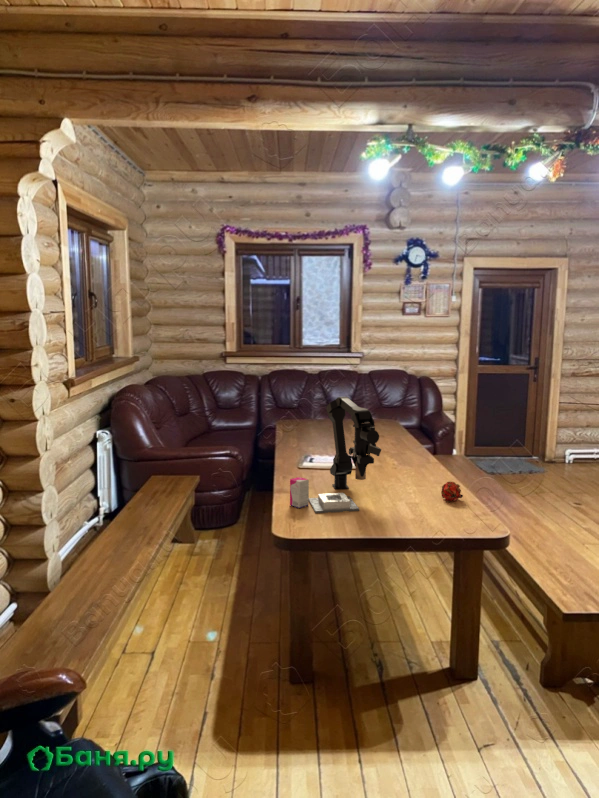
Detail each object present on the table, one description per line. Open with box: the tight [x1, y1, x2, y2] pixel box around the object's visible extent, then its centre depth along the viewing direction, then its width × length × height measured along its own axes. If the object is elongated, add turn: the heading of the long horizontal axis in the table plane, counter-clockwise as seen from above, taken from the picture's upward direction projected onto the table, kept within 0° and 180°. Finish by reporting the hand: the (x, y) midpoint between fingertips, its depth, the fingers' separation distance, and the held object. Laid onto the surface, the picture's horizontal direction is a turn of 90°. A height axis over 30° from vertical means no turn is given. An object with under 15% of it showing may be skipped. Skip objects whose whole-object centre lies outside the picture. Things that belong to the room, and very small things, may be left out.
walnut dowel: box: [354, 463, 367, 481], centre depth 238 cm, size 4×4×7 cm
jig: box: [309, 492, 360, 514], centre depth 232 cm, size 16×18×4 cm
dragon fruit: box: [440, 481, 464, 503], centre depth 240 cm, size 8×8×12 cm
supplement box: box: [289, 476, 310, 509], centre depth 232 cm, size 6×6×12 cm
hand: (360, 474), depth 238 cm, fingers closed on walnut dowel, 4 cm apart
